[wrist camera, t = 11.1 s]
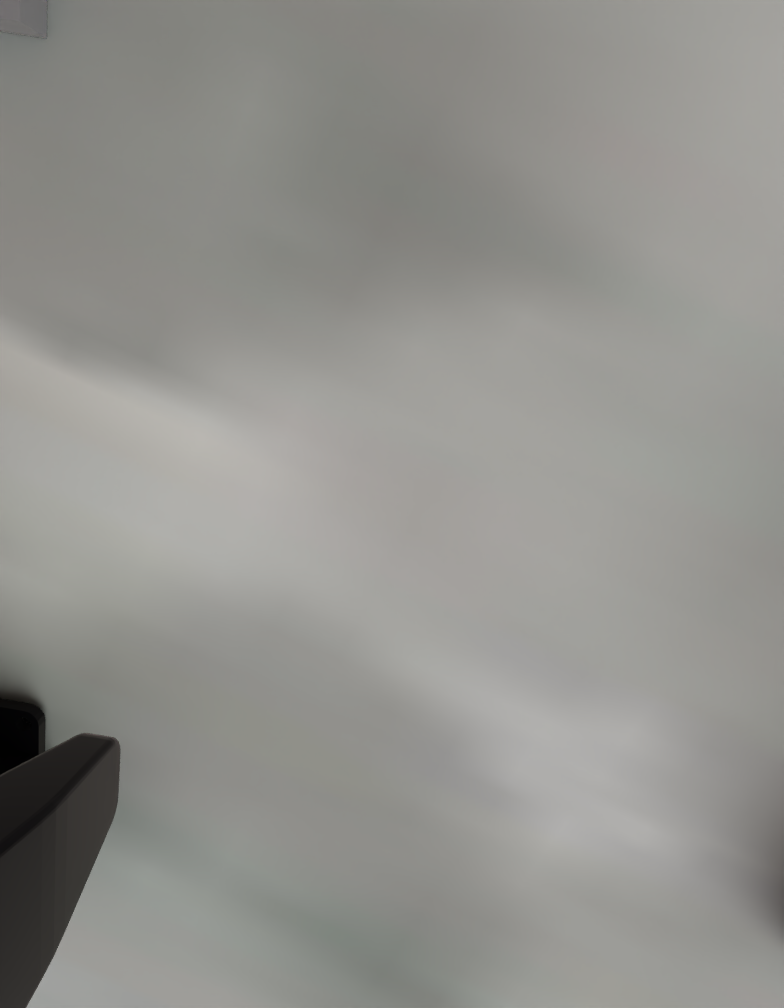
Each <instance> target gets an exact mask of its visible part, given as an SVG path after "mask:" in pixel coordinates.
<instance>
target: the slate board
mask: <svg viewBox="0 0 784 1008" xmlns="http://www.w3.org/2000/svg"><path fill="white" fill-rule="evenodd" d="M0 31H1V32H8V33H14V34H20V35H26V36H33V37H39V38H45V39H47V0H0Z"/></svg>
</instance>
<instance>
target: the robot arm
mask: <svg viewBox="0 0 784 1008" xmlns="http://www.w3.org/2000/svg"><path fill="white" fill-rule="evenodd" d="M22 717H24V718H26V719H28V720H29V721H30V723H31V724H28V723H26V722H25V721H24V720H23V718H22ZM119 771H120V745H119V742H118V741H117V739H116V738H114V737H109V736H103V735H96V734H90V733H82V734H79V735H76V736H74V737H72V738H70V739H69V740H67V741H65V742H63V743H61V744H59V745H57V746H55V747H53V748H51V749H49V750H47V751H45V716H44V713H43V712H42V710H41V709H40V708H38V707H37V706H35V705H32V704H29V703H23V702H17V701H10V700H4V699H0V1008H26V1007H27V1005H28V1003H29V1001H30V999H31V998H32V996H33V994H34V992H35V990H36V989H37V987H38V985H39V983H40V981H41V980H42V978H43V976H44V974H45V972H46V970H47V968H48V966H49V964H50V962H51V961H52V959H53V957H54V955H55V952H56V950H57V948H58V946H59V944H60V941H61V939H62V937H63V935H64V932H65V930H66V928H67V926H68V923H69V921H70V919H71V916H72V914H73V912H74V909H75V907H76V905H77V902H78V900H79V898H80V895H81V893H82V891H83V888H84V886H85V884H86V881H87V879H88V877H89V875H90V872H91V870H92V868H93V865H94V863H95V861H96V858H97V856H98V854H99V851H100V849H101V847H102V844H103V842H104V840H105V837H106V835H107V833H108V830H109V828H110V826H111V824H112V821H113V818H114V815H115V812H116V808H117V803H118V792H119Z"/></svg>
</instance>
